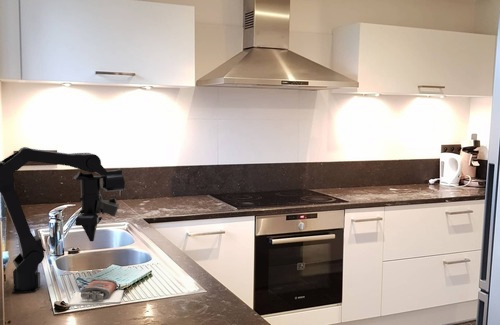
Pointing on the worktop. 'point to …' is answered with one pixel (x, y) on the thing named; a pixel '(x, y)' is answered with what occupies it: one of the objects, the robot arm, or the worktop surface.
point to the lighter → (98, 289)
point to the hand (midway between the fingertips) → (92, 241)
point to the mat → (112, 299)
